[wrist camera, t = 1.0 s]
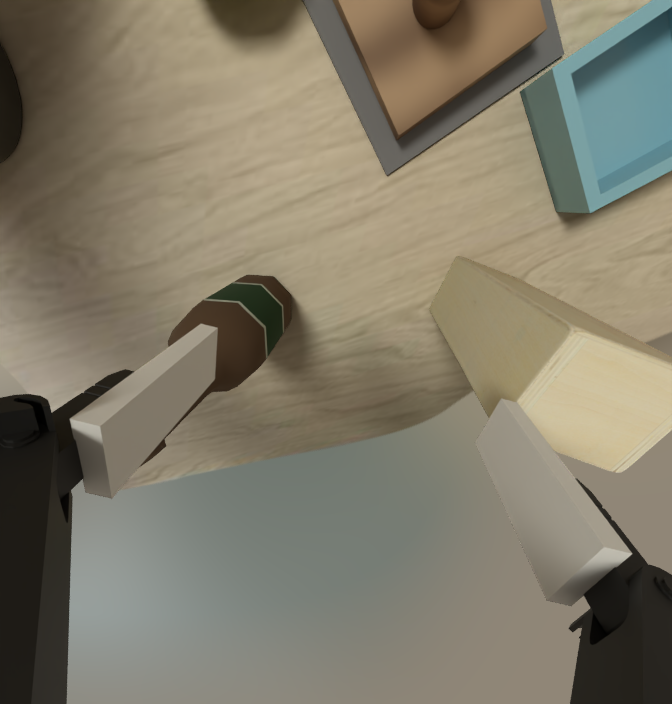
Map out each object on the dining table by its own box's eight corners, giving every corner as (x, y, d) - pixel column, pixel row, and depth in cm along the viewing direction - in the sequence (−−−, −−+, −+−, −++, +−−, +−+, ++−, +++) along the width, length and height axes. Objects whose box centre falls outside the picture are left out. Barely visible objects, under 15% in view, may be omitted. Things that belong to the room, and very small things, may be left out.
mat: (293, -20, 24) (292, -22, 24) (493, -220, 19) (494, -227, 19) (386, 175, 30) (386, 175, 29) (562, 55, 25) (564, 53, 24)
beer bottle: (304, 289, 35) (209, 422, 14) (281, 343, 39) (176, 517, 17) (242, 259, 34) (37, 351, 13) (224, 317, 38) (37, 466, 16)
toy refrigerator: (423, 315, 35) (488, 440, 17) (455, 253, 32) (580, 323, 13) (484, 338, 36) (615, 485, 17) (522, 280, 33) (733, 383, 14)
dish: (519, 92, 26) (552, 68, 21) (670, -11, 23) (746, -64, 18) (556, 211, 30) (590, 213, 25) (690, 138, 26) (757, 125, 22)
